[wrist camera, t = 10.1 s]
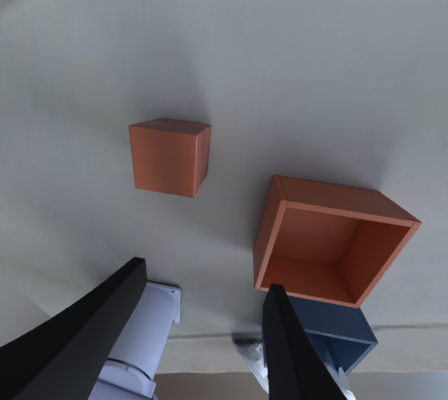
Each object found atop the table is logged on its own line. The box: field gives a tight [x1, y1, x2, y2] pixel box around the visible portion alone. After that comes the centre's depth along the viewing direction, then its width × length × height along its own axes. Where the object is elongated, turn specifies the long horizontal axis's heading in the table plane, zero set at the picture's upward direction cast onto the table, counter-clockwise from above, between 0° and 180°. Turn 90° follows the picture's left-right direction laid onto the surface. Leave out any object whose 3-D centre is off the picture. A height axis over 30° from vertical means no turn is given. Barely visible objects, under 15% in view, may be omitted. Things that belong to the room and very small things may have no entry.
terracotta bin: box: [253, 175, 422, 308], centre depth 18 cm, size 10×10×5 cm
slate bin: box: [262, 295, 378, 376], centre depth 24 cm, size 10×10×5 cm
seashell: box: [232, 340, 269, 393], centre depth 29 cm, size 8×5×8 cm
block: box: [129, 118, 211, 197], centre depth 15 cm, size 4×4×5 cm
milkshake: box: [306, 332, 356, 400], centre depth 21 cm, size 4×5×10 cm
